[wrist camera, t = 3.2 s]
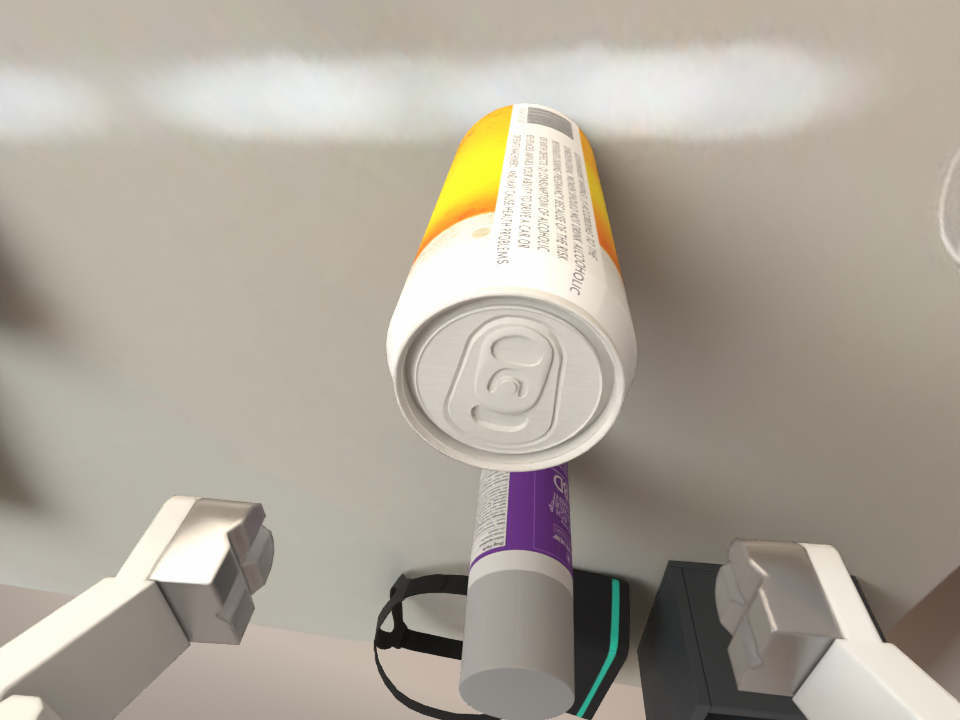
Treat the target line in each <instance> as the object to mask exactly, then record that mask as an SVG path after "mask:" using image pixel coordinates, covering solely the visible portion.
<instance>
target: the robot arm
mask: <svg viewBox="0 0 960 720" xmlns="http://www.w3.org/2000/svg"><path fill="white" fill-rule="evenodd" d="M265 516H266V515H265V512H264V510H263V507H262V504H261V503H251V502H240V501H230V500H220V499H210V498H201V497H188V496H176V495H174V496H173V497H172V498H170V499H169V500H168V501H166V502H165V503H164V505H163V506H162V508H161V509H160V511H159V512H158V514H157V515H156V517H155V518H154V520H153V521H152V523H151V524H150V526H149V527H148V529H147V530H146V532H145V533H144V535H143V536H142V538H141V539H140V541H139V542H138V544H137V545H136V547H135V548H134V550H133V551H132V553H131V554H130V556H129V557H128V559H127V560H126V562H125V563H124V565H123V566H122V568H121V569H120V571H119V572H118V574H117V575H116V577H106V578H104V579H103V580H101V581H100V582H98V583H97V584H95V585H94V586H92V587H91V588H89V589H88V590H86V591H85V592H83V593H82V594H80V595H79V596H77V597H76V598H74V599H73V600H71V601H70V602H69V603H67V604H66V605H64V606H62V607H61V608H59V609H58V610H56V611H55V612H53V613H52V614H50V615H49V616H48V617H46V618H44V619H43V620H42V621H40V622H38V623H37V624H35V625H34V626H33V627H31V628H30V629H28V630H27V631H25V632H24V633H22V634H21V635H19V636H18V637H16V638H15V639H13V640H12V641H10V642H9V643H7V644H6V645H4V646H3V647H1V648H0V720H113V719H114V718H115V717H116V716H117V715H118V714H119V713H120V712H121V711H122V710H123V709H124V708H125V707H126V706H128V705H129V704H130V703H131V702H132V701H133V700H134V699H135V698H136V697H137V696H138V695H139V694H140V693H141V692H142V691H143V690H144V689H145V688H146V687H147V686H148V685H149V684H150V683H151V682H152V681H154V680H155V679H156V677H158V676H159V675H160V674H161V673H162V672H163V671H164V670H165V669H166V668H167V667H168V666H169V665H170V664H171V663H172V662H173V661H174V660H176V659H177V658H178V656H179V655H181V654H182V653H183V652H184V651H185V650H186V649H187V648H188V647H189V646H190V642H199V643H216V644H231V645H239V644H240V642H241V639H242V637H243V635H244V632H245V630H246V628H247V625H248V623H249V621H250V618H251V616H252V614H253V611H254V609H255V607H254V603H253V600H252V596H251V595H252V594H254V593H255V592H256V591H257V590H259V589H260V588H261V587H262V586H264V585H265V583H266V580H267V578H268V575H269V573H270V570H271V567H272V561H273V556H274V540H273V536H272V533H271V531H270V530H268V529H267V528H266V527H265V526H263V525H262V523H263V521H264V519H265ZM728 555H729V558H730V562H728V563H727V564H725V565H723V566H721V567H720V570H719V572H718V575H717V578H716V585H715V600H716V608H717V612H718V616H719V620H720V623H721V624H722V625H723V626H724V627H725V628H726V629H727V631H728V632H729V633H730V634H731V635H732V636H733V638H732V640H731V642H730V644H729V646H728V648H727V651H728V654H729V658H730V662H731V665H732V669H733V673H734V677H735V680H736V684H737V688H738V690H740V691H748V692H757V693H765V694H774V695H782V696H791V697H793V698H792V700H793V702H794V703H795V704H796V705H797V707H798V708H799V709H800V710H801V712H802V713H803V714H804V715H805V717H806V718H807V719H808V720H960V702H959V701H958V700H956V699H955V698H954V697H953V696H952V695H951V694H949V693H948V692H947V691H946V690H945V689H944V688H943V687H942V686H940V685H939V684H938V683H937V682H936V681H935V680H934V679H932V678H931V677H930V676H929V675H928V674H927V673H926V672H924V671H923V670H922V669H921V668H920V667H919V666H918V665H917V664H915V663H914V662H913V661H912V660H911V659H910V658H909V657H907V656H906V655H905V654H904V653H903V652H902V651H901V650H900V649H898V648H897V647H896V646H895V645H894V644H891V643H883V642H882V640H881V638H880V636H879V634H878V632H877V630H876V628H875V626H874V624H873V621H872V619H871V617H870V615H869V613H868V611H867V609H866V607H865V605H864V603H863V601H862V599H861V597H860V595H859V593H858V591H857V589H856V587H855V585H854V583H853V581H852V579H851V577H850V575H849V573H848V571H847V569H846V567H845V565H844V563H843V561H842V559H841V557H840V555H839V553H838V551H837V550H836V549H835V548H834V547H833V546H831V545H823V544H807V543H796V542H790V541H773V540H757V539H740V538H737V539H735V540H734V541H732V542H731V545H730V547H729V549H728Z"/></svg>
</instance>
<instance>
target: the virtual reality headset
mask: <svg viewBox="0 0 960 720" xmlns="http://www.w3.org/2000/svg"><path fill="white" fill-rule="evenodd" d="M468 580H469V576H465V575H442V574H435V575H428V576H423V577H419V578H415V579H406V578H405V575H404V574H401V576H400V577H399V578H398V580H397V581H396V582H395V584H394V585H393V586H392V588H391V590H390V600H389V601H388V602H387V604H386V605H385V606H384V608H383V609H382V611H381V613H380V615H379V617H378V622H377V628H376V635H375V639H374V652H375V661H376V665H377V667H378V671H379V673H380V675H381V677H382V679H383V681H384V683H385V685H386V686H387V688H388V689H389V690H390V691H391V693H392V694H393V695H394V696H395V698H396V699H397V700H399V701H400V702H401V703H403V704H404V705H406V706H407V707H408V708H410V709H412V710H414V711H417V712H419V713H421V714H424V715H427V716H430V717H434V718H437V719H441V720H500V719H501V718H497V717H493V716H490V715H487V714H482V715H481V714H480V715H477V714H456V713H451V712H447V711H443V710H439V709H435V708H432V707H429V706H425V705H423V704H421V703H418V702H416V701H414V700H411V699H410V698H408V697H407V696H405V695H404V694H402V693H401V692H399V691H398V690H397V689H396V687H395V686H394V685H393V684H392V682H391V681H390V680H389V679H388V677H387V676H386V674H385V672H384V670H383V669H382V666H381V665H380V663H379V659H378V655H377V649H376V646H377V647H378V648H380V649H389V648H391V647H395V648H397V649H401V647H402V648H405V649H409V650H412V651H417V652H422V653H428V654H432V655H437V656H442V657H448V658H453V659H458V660H462V650H463V641H459V640H454V639H449V638H444V637H440V636H435V635H431V634H426V633H421V632H416V631H412V630H410V629H408V628H407V626H406V624H405V623H404V622H403V612H402V601H403V600H405V598H407V597H409V596H413V595H418V594H425V593H451V594H460V595H467V592H468ZM391 610H392V615H393V620H394V629H393V631H392V632H390V633H389V632H385V631H383V630H381V629H380V627H381V625H382V623H383V622H384V620H385V619H386V617H387V616H388V614H389V613H390V612H391ZM573 620H574V682H575V700H574V703H573V705H572V707H571V708H570V709H569V710H568V711H566V713H569V714H572V715H576V716H579V717H581V718H584V719H588V720H591V719H592V718H593V716H594V714H595V712H596V711H597V709H598V707H599V706H600V703H601V702H602V700H603V698H604V697H605V695H606V693H607V691H608V690H609V688H610V686H611V684H612V683H613V681H614V679H615V677H616V676H617V674H618V672H619V671H620V669H621V667H622V665H623V664H624V662H625V660H626V658H627V655H628V650H629V628H630V596H629V583H628V582H625V581H622V580H617V579H612V578H608V577H603V576H598V575H594V574H589V573H585V572H580V571H575V570H573Z"/></svg>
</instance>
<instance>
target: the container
mask: <svg viewBox="0 0 960 720" xmlns="http://www.w3.org/2000/svg"><path fill="white" fill-rule="evenodd" d="M459 692H460V695H461V697H462V699H463V700H464V701H465V702H466V703H467V704H468V705H469V706H471V707H472V708H474V709H476V710H478V711H480V712H482V713H484V714H487V715H490V716H493V717H497V718H501V719H507V720H545V719H549V718H553V717H556V716H559V715H561V714H563V713H565V712H566V711H568V710H569V709H570V708H571V707H572V705H573V703H574V700H575V682H574V620H573V569H572V548H571V527H570V505H569V484H568V463H567V462H565V463H563V464H560V465H557V466H554V467H550V468H547V469H541V470H536V471H527V472H501V471H493V470H486V469H482V468H481V476H480V484H479V493H478V501H477V510H476V518H475V527H474V535H473V544H472V552H471V561H470V569H469V580H468V592H467V603H466V615H465V627H464V638H463V650H462V661H461V673H460V684H459Z"/></svg>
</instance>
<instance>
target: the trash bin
mask: <svg viewBox="0 0 960 720" xmlns="http://www.w3.org/2000/svg"><path fill="white" fill-rule="evenodd" d="M721 566H723V565H714V564H702V563H690V562H679V561H669V562H668V565H667V568H666V570H665V573H664V576H663V579H662V582H661V585H660V587H659V590H658V593H657V596H656V599H655V602H654V605H653V607H652V610H651V613H650V616H649V619H648V622H647V624H646V627H645V630H644V633H643V636H642V639H641V642H640V644H639V647H638V650H637V654H638V661H639V668H640V676H641V684H642V691H643V698H644V706H645V714H646V720H808V719H807V718H806V717H805V715H804V714H803V713H802V712H801V710H800V709H799V708H798V707H797V705H796V704H795V703H794V702H793V700H792V698H793V697H791V696H782V695H774V694H765V693H757V692H748V691H740V690H738V688H737V684H736V680H735V677H734V673H733V669H732V665H731V662H730V658H729V654H728V651H727V648H728V646H729V644H730V642H731V640H732V638H733V636H732V635H731V634H730V633H729V632H728V631H727V629H726V628H725V627H724V626H723V625H722V624H721V623H720V620H719V616H718V612H717V608H716V600H715V585H716V578H717V575H718V572H719V570H720V567H721ZM850 577H851V579H852V581H853V583H854V585H855V587H856V589H857V591H858V593H859V595H860V597H861V599H862V601H863V603H864V605H865V607H866V609H867V611H868V613H869V615H870V617H871V619H872V621H873V624H874V626H875V628H876V630H877V632H878V634H879V636H880V638H881V640H882V642H883V643H887V642H886V640H885V638H884V635H883V633H882V631H881V629H880V627H879V625H878V623H877V621H876V619H875V617H874V615H873V613H872V611H871V609H870V607H869V604H868V602H867V600H866V598H865V596H864V594H863V592H862V590H861V588H860V586H859V584H858V582H857V580H856V577H855V576H850Z"/></svg>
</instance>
